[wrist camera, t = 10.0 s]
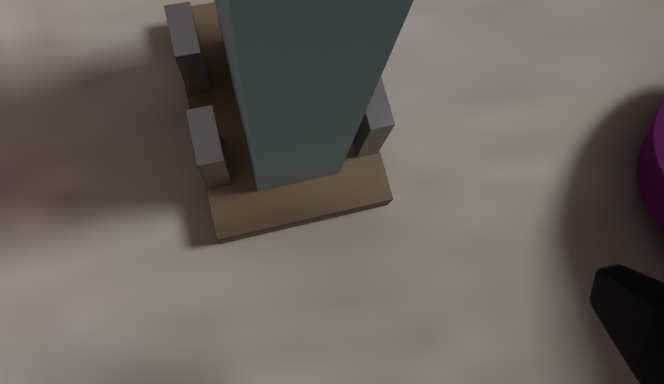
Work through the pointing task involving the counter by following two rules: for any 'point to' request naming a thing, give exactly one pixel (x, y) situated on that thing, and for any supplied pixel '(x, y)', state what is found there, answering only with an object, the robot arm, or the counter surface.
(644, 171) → the mounting bracket
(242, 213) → the brown base with posts
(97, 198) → the counter surface
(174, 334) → the counter surface
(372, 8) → the door
